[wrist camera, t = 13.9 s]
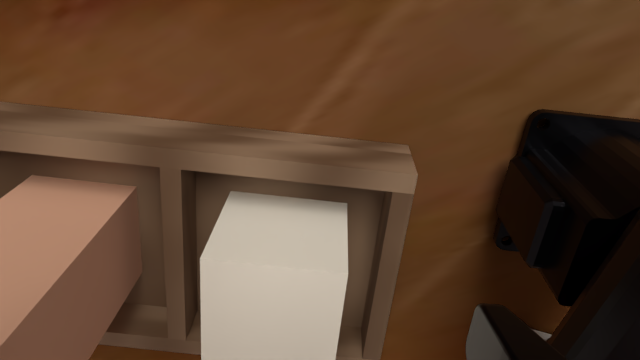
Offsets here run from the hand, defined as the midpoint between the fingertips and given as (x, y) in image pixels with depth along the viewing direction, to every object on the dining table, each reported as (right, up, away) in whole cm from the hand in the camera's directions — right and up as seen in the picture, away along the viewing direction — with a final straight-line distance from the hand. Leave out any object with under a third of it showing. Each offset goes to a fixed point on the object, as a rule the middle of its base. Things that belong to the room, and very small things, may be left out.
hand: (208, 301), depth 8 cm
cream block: (0, -1, +14) cm, 14 cm away
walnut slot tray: (-4, 0, +15) cm, 15 cm away
